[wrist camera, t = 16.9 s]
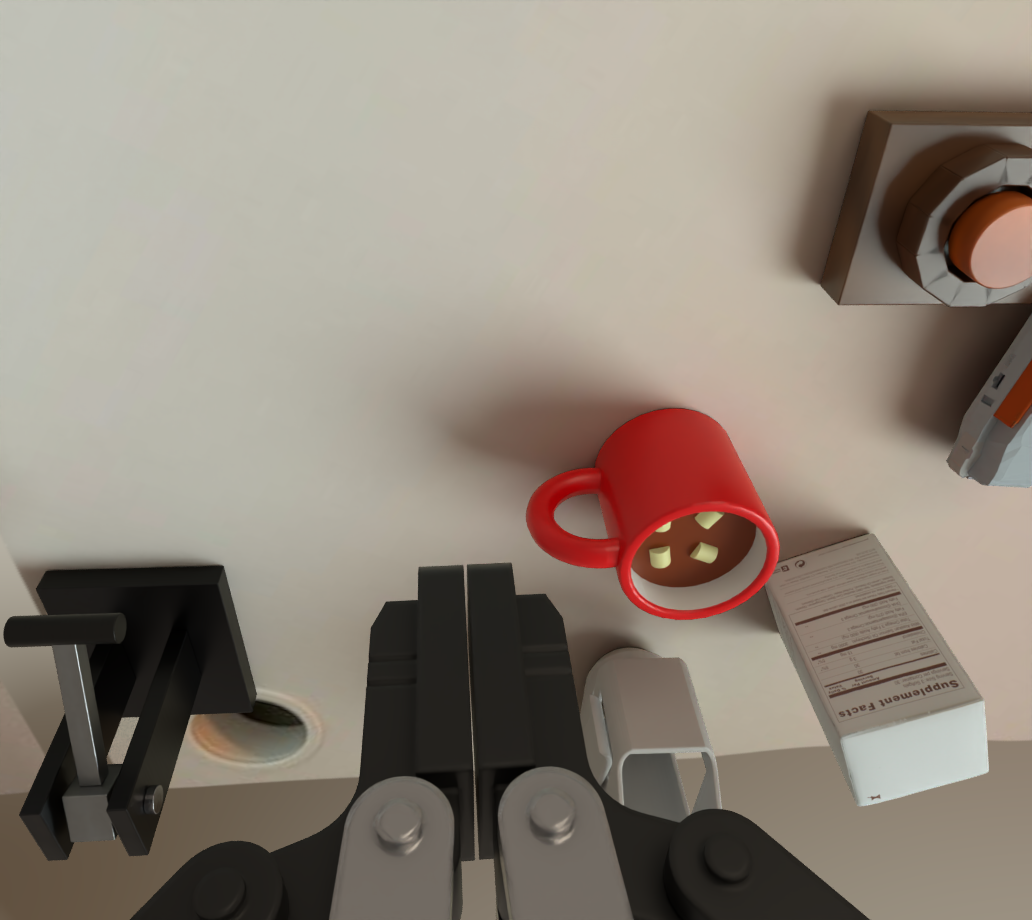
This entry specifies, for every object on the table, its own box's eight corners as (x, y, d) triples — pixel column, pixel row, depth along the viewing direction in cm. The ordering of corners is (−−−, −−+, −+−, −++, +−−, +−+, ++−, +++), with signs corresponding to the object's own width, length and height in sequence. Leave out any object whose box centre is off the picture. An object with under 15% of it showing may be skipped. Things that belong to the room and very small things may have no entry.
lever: (21, 606, 38) (-6, 631, 36) (128, 602, 39) (108, 627, 36) (63, 810, 42) (41, 844, 40) (160, 805, 42) (143, 839, 40)
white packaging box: (887, 603, 53) (992, 776, 42) (777, 636, 54) (855, 812, 44) (875, 527, 48) (990, 700, 38) (757, 565, 50) (838, 742, 39)
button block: (867, 110, 34) (912, 134, 30) (1089, 112, 34) (1155, 137, 31) (819, 285, 38) (853, 323, 35) (1014, 284, 39) (1065, 321, 36)
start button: (965, 189, 32) (989, 203, 31) (1048, 190, 32) (1076, 204, 31) (935, 272, 34) (956, 289, 33) (1013, 272, 35) (1037, 289, 33)
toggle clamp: (45, 570, 45) (-70, 772, 35) (223, 565, 46) (161, 762, 36) (103, 699, 53) (21, 899, 42) (257, 693, 53) (212, 888, 43)
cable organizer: (679, 617, 52) (733, 786, 42) (649, 730, 59) (689, 896, 50) (579, 618, 51) (611, 790, 42) (561, 733, 59) (584, 901, 49)
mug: (518, 418, 42) (531, 515, 35) (742, 403, 42) (794, 497, 36) (521, 529, 46) (534, 633, 40) (723, 515, 47) (767, 615, 40)
